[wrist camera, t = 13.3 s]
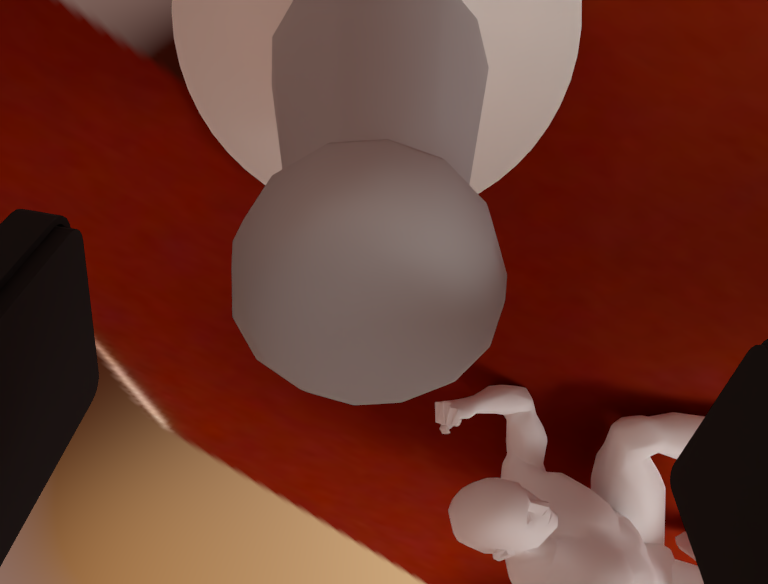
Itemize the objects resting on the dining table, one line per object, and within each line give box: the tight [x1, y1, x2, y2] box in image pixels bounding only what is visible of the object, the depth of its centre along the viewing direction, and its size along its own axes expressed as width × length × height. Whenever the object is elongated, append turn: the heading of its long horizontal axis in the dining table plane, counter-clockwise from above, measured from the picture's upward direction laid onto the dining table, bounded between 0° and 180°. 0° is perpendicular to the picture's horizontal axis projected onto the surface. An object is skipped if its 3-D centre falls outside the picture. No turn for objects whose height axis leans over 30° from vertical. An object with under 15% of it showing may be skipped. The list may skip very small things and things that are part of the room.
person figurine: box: [435, 385, 705, 584], centre depth 29 cm, size 13×13×18 cm
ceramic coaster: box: [171, 0, 582, 194], centre depth 20 cm, size 12×12×1 cm
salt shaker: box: [232, 0, 507, 405], centre depth 15 cm, size 6×6×13 cm
